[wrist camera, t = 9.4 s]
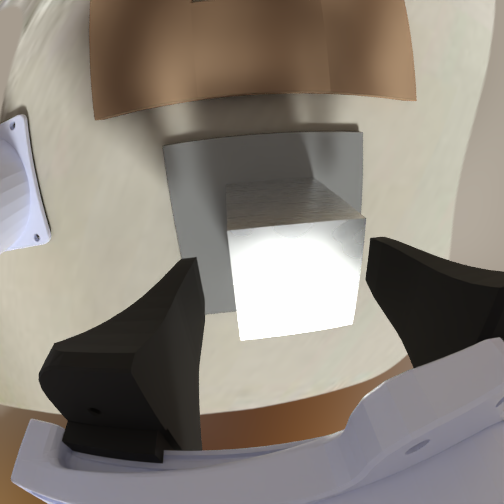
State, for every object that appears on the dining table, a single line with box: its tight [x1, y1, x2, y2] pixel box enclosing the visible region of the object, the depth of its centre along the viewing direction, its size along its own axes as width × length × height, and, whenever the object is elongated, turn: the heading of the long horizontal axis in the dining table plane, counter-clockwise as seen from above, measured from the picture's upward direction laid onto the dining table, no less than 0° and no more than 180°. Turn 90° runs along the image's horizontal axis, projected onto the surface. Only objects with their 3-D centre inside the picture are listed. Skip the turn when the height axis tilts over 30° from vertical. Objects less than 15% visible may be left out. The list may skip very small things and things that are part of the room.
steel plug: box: [226, 178, 366, 340], centre depth 12 cm, size 4×4×6 cm
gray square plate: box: [163, 131, 363, 314], centre depth 15 cm, size 10×10×1 cm
